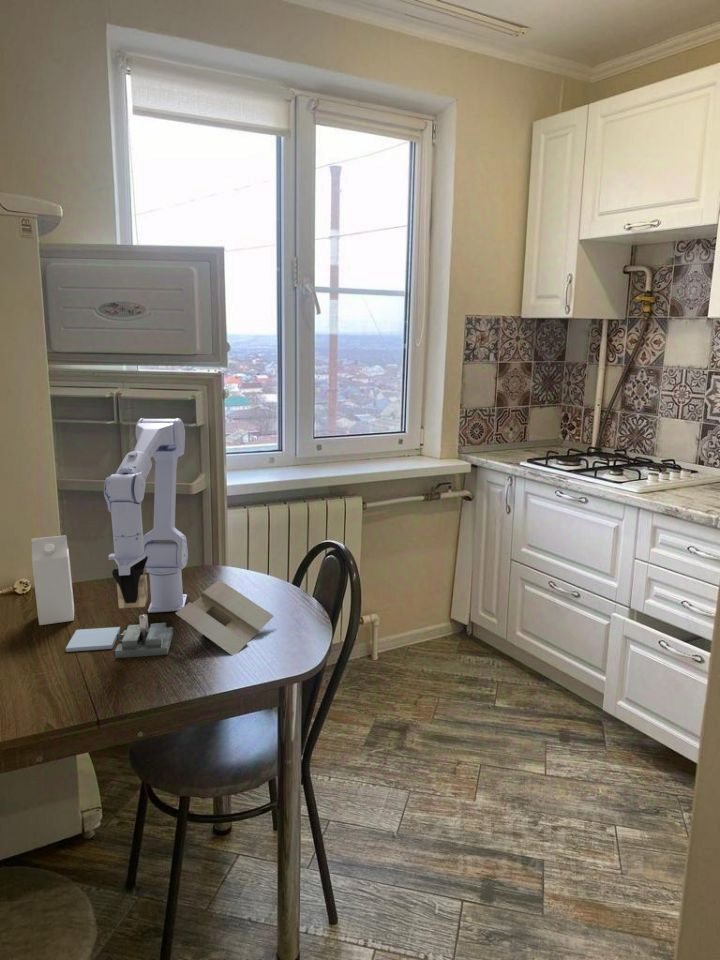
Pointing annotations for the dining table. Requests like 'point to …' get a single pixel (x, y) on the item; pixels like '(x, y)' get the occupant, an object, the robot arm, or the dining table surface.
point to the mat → (93, 639)
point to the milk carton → (52, 580)
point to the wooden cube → (141, 596)
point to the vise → (144, 639)
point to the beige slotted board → (225, 617)
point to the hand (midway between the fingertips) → (133, 597)
